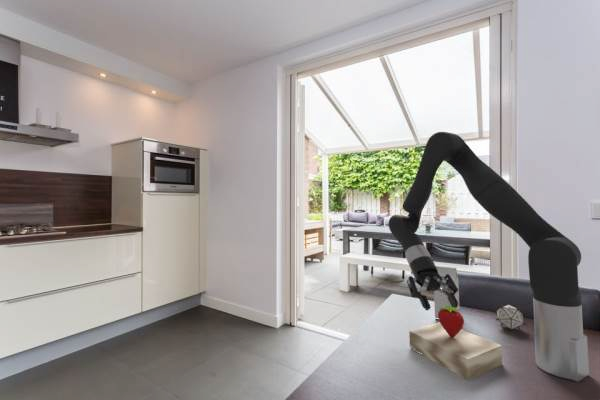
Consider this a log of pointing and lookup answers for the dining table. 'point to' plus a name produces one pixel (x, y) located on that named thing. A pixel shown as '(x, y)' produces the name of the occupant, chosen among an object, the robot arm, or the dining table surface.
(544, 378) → the dining table surface
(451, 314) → the strawberry
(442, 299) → the grey tall block
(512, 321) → the game die
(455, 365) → the birch stand
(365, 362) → the dining table surface
